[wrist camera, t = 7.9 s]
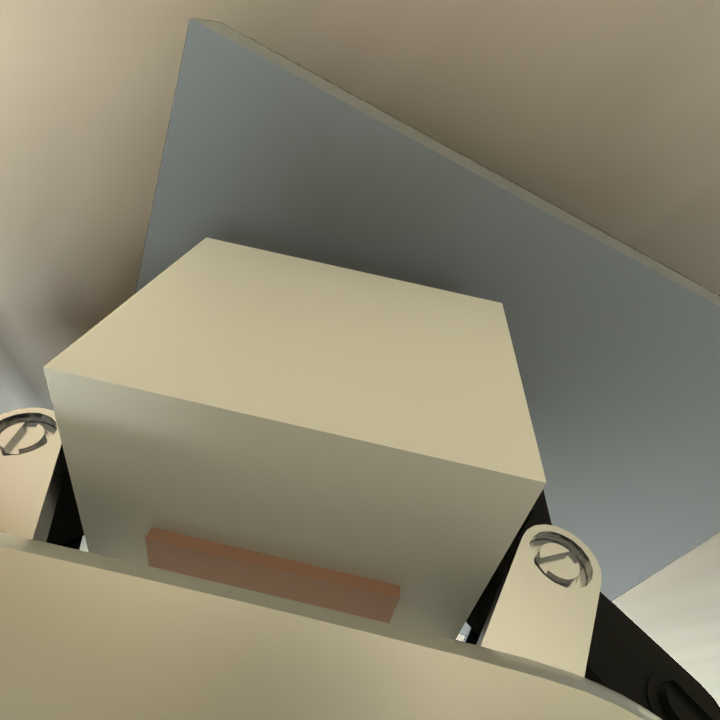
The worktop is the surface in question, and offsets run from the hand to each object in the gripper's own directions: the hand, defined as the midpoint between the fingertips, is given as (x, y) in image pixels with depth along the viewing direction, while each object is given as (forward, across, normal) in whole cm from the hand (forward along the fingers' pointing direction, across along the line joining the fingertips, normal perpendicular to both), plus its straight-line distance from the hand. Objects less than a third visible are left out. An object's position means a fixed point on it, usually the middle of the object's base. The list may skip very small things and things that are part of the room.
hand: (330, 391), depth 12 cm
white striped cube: (0, 0, 0) cm, 0 cm away
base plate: (+3, -3, +3) cm, 6 cm away
